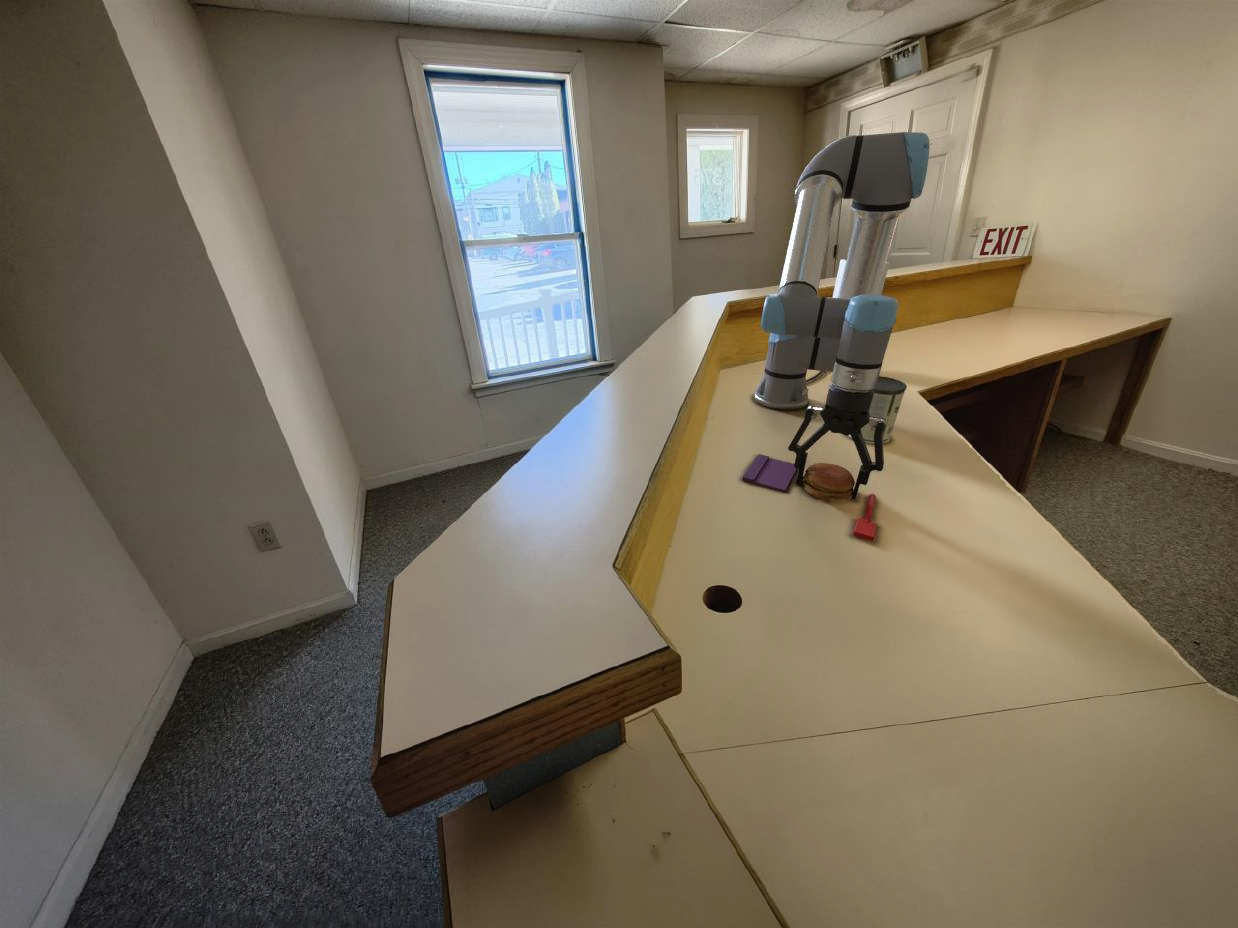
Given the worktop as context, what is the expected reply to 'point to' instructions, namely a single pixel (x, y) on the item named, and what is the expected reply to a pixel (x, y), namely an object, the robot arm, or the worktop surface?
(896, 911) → the worktop surface
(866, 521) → the red spatula
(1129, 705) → the worktop surface
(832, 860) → the worktop surface
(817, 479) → the burger
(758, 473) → the cloth
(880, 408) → the coffee can
